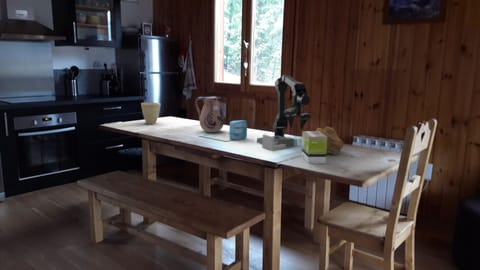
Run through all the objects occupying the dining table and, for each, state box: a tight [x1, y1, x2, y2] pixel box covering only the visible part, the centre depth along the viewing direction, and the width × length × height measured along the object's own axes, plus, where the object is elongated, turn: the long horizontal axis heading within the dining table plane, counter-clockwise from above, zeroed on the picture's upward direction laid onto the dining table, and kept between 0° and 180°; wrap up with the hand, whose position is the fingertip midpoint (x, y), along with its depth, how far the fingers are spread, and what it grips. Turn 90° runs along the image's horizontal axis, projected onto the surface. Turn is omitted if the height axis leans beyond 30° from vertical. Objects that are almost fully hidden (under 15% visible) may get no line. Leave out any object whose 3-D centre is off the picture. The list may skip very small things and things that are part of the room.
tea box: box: [301, 130, 327, 164], centre depth 206 cm, size 15×10×15 cm, turn 5°
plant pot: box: [141, 102, 161, 125], centre depth 304 cm, size 15×15×16 cm
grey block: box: [261, 134, 287, 152], centre depth 232 cm, size 12×9×8 cm
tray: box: [256, 135, 286, 145], centre depth 248 cm, size 18×10×3 cm, turn 125°
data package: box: [228, 119, 248, 141], centre depth 255 cm, size 12×4×12 cm, turn 133°
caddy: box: [278, 136, 298, 148], centre depth 239 cm, size 13×4×5 cm, turn 125°
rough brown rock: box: [315, 126, 344, 156], centre depth 223 cm, size 23×17×15 cm
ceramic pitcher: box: [194, 96, 225, 133], centre depth 277 cm, size 18×21×25 cm
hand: (296, 128), depth 240 cm, fingers open, 9 cm apart
